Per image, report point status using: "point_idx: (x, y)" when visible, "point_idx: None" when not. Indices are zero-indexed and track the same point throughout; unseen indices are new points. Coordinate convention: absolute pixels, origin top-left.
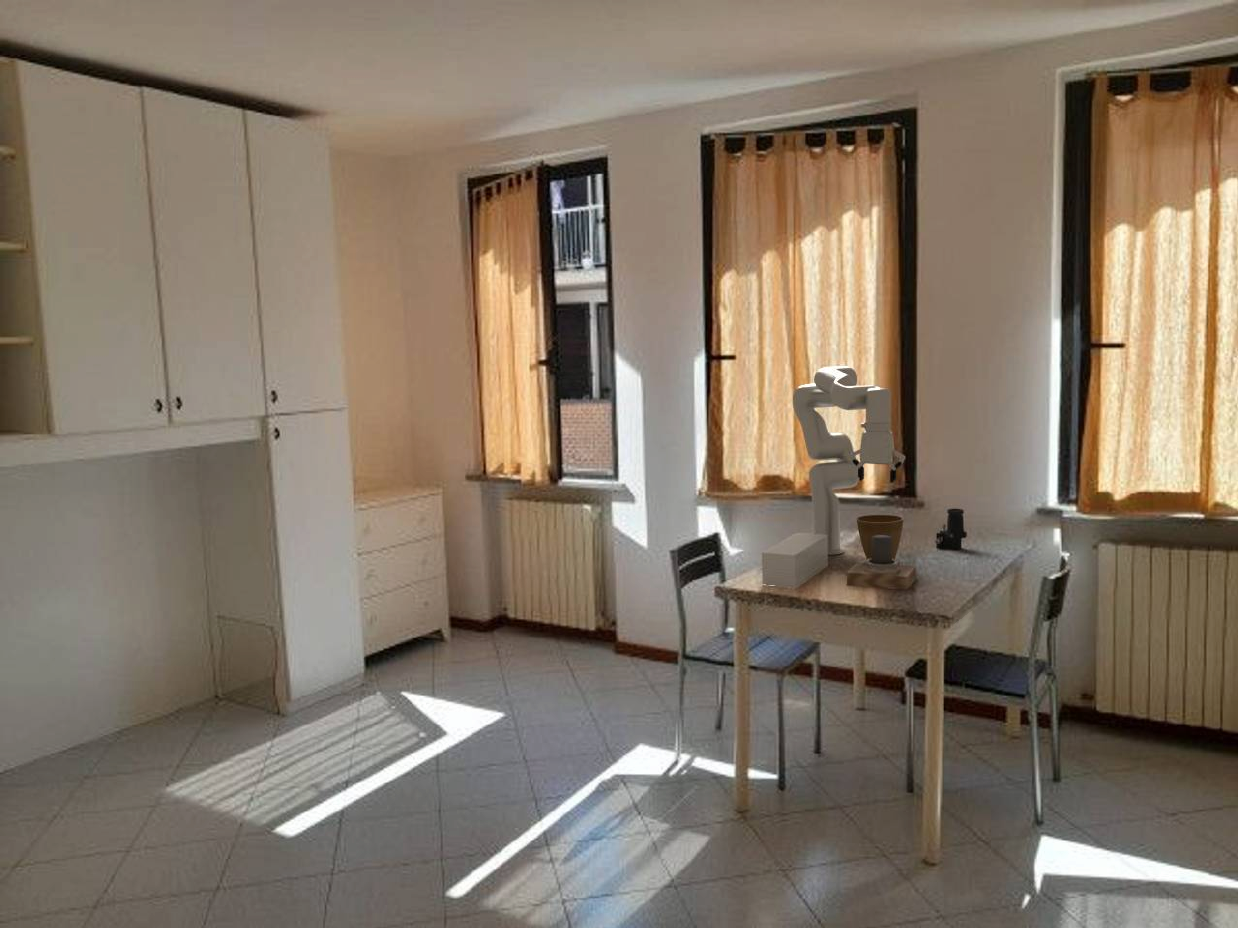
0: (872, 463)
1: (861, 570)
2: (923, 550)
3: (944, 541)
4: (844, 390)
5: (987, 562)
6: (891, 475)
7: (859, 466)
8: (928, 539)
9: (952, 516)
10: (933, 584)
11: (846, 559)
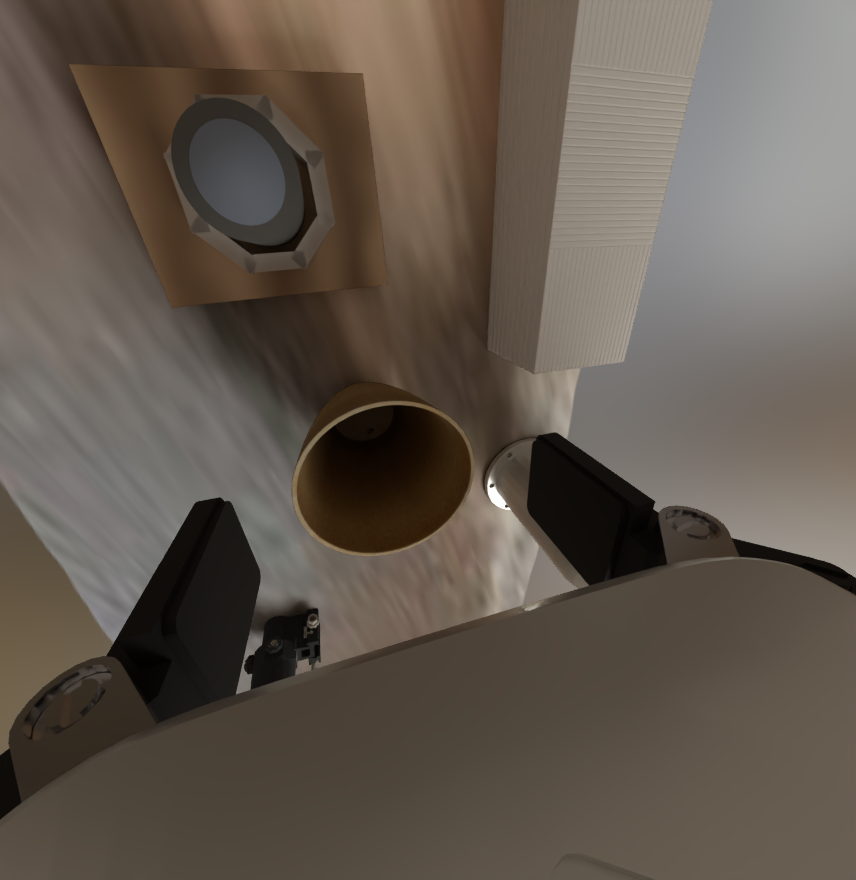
0: (529, 605)
1: (323, 140)
2: (334, 581)
3: (300, 629)
4: None
5: (128, 572)
6: (173, 561)
7: (679, 531)
8: (364, 647)
9: None
10: (77, 246)
11: None
